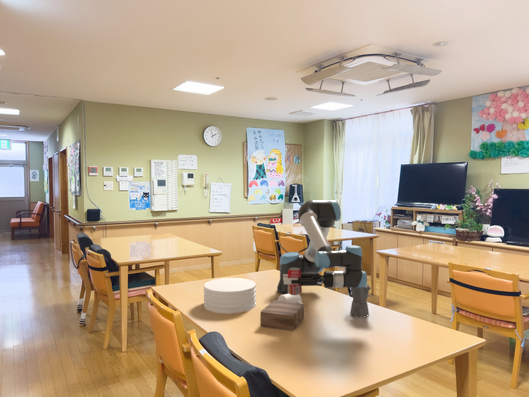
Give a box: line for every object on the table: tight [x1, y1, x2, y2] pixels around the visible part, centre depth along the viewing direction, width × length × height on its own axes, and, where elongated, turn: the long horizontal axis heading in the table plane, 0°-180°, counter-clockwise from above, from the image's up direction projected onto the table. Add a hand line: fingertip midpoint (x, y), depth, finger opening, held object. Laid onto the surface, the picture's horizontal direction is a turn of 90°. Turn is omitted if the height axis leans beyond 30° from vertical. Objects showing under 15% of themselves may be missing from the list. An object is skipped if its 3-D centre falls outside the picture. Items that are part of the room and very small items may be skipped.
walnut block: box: [259, 300, 305, 332], centre depth 183 cm, size 18×16×7 cm
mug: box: [277, 293, 303, 304], centre depth 201 cm, size 12×10×8 cm
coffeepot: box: [346, 283, 372, 318], centre depth 195 cm, size 15×9×18 cm, turn 33°
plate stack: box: [203, 277, 257, 315], centre depth 209 cm, size 28×28×12 cm
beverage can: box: [288, 268, 302, 295], centre depth 179 cm, size 6×6×12 cm
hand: (283, 279), depth 179 cm, fingers closed on beverage can, 6 cm apart
